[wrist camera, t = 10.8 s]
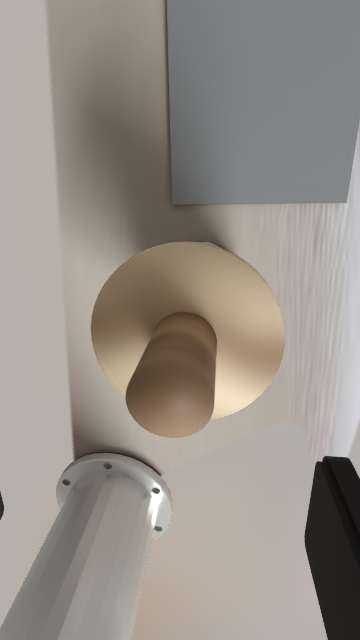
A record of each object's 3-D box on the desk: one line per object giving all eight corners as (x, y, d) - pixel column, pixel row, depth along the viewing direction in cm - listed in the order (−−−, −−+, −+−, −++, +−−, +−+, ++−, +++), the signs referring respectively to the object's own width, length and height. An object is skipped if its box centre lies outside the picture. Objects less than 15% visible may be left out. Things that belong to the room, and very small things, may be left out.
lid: (274, 416, 18) (295, 511, 13) (106, 407, 20) (62, 490, 14) (290, 240, 15) (327, 269, 10) (85, 242, 16) (16, 269, 11)
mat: (344, 202, 23) (346, 202, 23) (172, 204, 24) (171, 205, 24) (387, -74, 18) (390, -80, 18) (166, -51, 19) (165, -55, 19)
